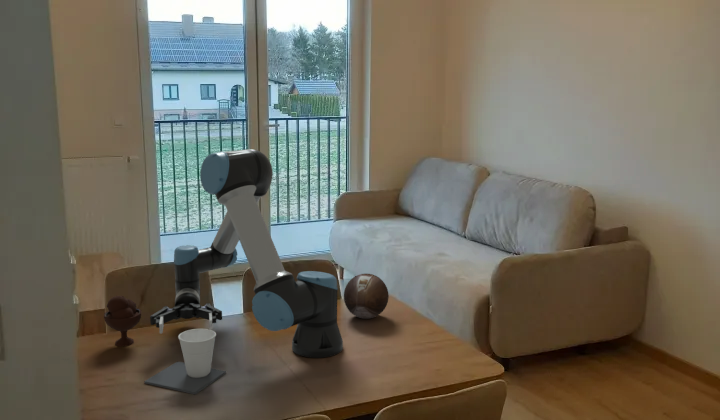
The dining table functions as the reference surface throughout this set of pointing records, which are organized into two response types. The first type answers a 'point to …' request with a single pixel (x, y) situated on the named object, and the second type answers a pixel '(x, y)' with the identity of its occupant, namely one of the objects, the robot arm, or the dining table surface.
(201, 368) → the cup
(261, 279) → the robot arm
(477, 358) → the dining table surface
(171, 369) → the mat
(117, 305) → the ice cream bowl
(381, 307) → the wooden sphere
